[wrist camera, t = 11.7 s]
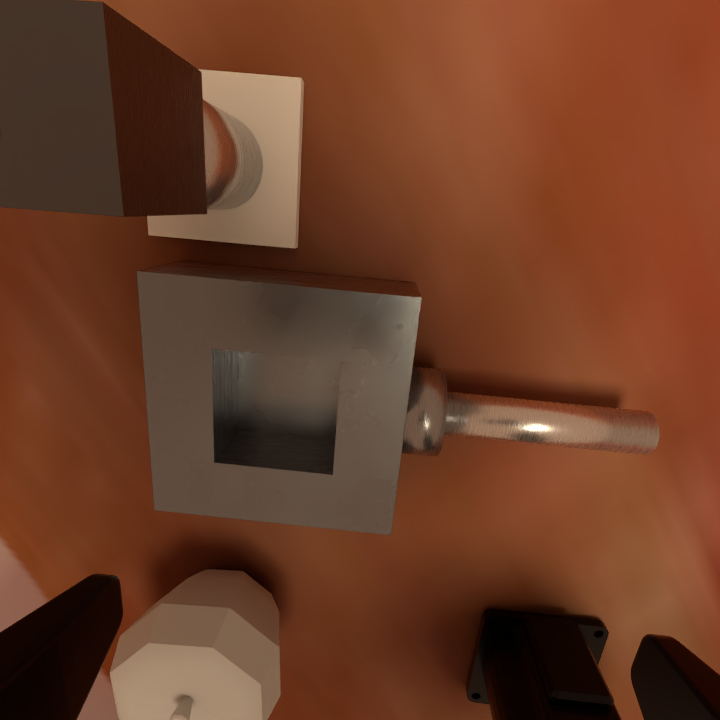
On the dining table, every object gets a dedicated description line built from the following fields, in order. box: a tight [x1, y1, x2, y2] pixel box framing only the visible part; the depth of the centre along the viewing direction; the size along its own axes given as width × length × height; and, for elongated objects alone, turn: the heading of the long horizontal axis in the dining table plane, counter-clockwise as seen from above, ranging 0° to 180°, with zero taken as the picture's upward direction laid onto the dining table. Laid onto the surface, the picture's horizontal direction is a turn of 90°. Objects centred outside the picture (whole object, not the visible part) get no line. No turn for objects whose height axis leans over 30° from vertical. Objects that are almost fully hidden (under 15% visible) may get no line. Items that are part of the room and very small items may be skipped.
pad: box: [147, 69, 304, 249], centre depth 17 cm, size 6×6×1 cm
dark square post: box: [0, 0, 263, 217], centre depth 12 cm, size 3×3×10 cm
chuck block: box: [137, 261, 659, 535], centre depth 19 cm, size 10×20×4 cm, turn 85°
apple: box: [110, 569, 281, 720], centre depth 21 cm, size 8×8×7 cm
